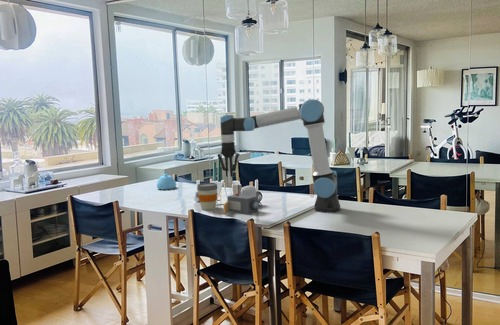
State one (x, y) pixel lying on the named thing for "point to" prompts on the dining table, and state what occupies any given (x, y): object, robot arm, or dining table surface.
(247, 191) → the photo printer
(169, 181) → the sugar bowl
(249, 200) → the camera body
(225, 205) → the side door
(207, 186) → the reusable coffee cup
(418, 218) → the dining table surface
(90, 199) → the dining table surface
